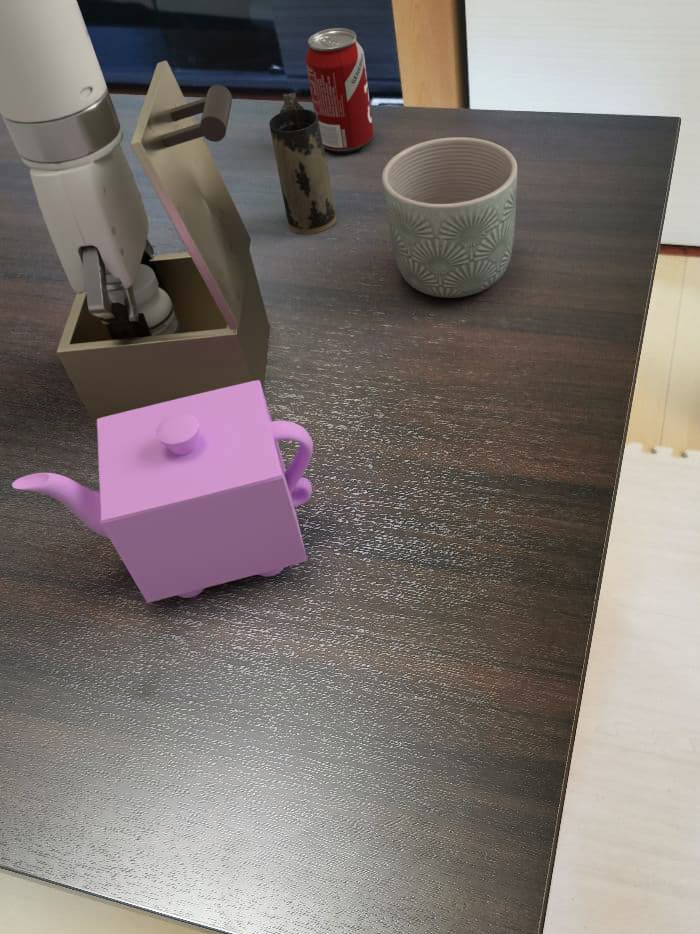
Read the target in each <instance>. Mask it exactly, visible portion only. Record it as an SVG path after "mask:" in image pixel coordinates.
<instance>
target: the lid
mask: <svg viewBox="0 0 700 934" xmlns="http://www.w3.org/2000/svg"><path fill="white" fill-rule="evenodd" d="M168 62H169V61H167V60H162V61H159V62H158V63H157V64H156V67H155V69H154V72H153V75H152V79H151V81H150V85H149V87H148V90H147V93H146V96H145V99H144V102H143V105H142V108H141V110H140V114H139V117H138V119H137V122H136V126H135V128H134V131H133V134H132V137H131V140H130V142H129V143H130V144H129V146H130V148H131V150H132V152H133V153H134V156H135V157H136V159H137V161H138V163H139V165H140V166H141V168H142V171H143V172H144V173H145V175H146V177H147V180H148V181H149V183H150V185H151V186H152V189H153V191H154V192H155V194H156V196H157V197H158V199H159V202H160V203H161V205H162V207H163V209H164V210H165V212H166V214H167V216H168V218H169V220H170V222H171V223H172V225H173V227H174V229H175V231H176V233H177V234H178V236H179V238H180V240H181V242H182V243H183V246H184V247H185V249H186V252H188V253H189V255H190V256H191V258H192V260H193V262H194V264H195V266H196V267H197V269H198V271H199V273H200V275H201V277H202V278H203V280H204V282H205V284H206V286H207V288H208V289H209V291H210V293H211V295H212V297H213V299H214V300H215V302H216V304H217V306H218V308H219V310H220V311H221V313H222V315H223V317H224V319H225V321H226V322H227V324H228V326H229V328H230V330H233V329H237V328H239V326H240V319H241V311H242V304H243V296H244V289H245V281H246V273H247V266H248V258H249V251H250V252H251V242H252V238H251V236H250V234H249V232H248V230H247V227H246V226H245V223H244V220H243V219H242V216H241V214H240V213H239V211H238V209H237V206H236V203H235V202H234V200H233V197H232V196H231V194H230V192H229V189H228V187H227V186H226V183H225V181H224V179H223V177H222V174H221V173H220V170H219V168H218V167H217V164H216V162H215V160H214V158H213V156H212V153H211V151H210V149H209V147H208V145H207V143H206V141H205V139H206V140H207V141H210V142H214V143H216V142H220V141H222V140H223V139H224V138H225V136H226V134H227V129H228V123H229V119H230V113H231V109H232V103H233V95H232V93H231V92H230V90H229V89H228V88H227V87H226V86H224V85H222V84H213V85H212V86H210V88H209V89H208V90H207V93H206V97H203V98H199V99H198V100H194V101H191V102H187V100H186V98H185V96H184V94H183V92H182V90H181V88H180V85H179V83H178V81H177V79H176V77H175V75H174V73H173V71H172V69H171V66H170V65H169V63H168ZM200 114H201V119H200V122H199V123H197V121H196V120H195V117H194V116H196V115H200Z"/></svg>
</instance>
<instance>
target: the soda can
mask: <svg viewBox="0 0 700 934" xmlns="http://www.w3.org/2000/svg"><path fill="white" fill-rule="evenodd" d="M307 44H308V49H307V52H306V55H305V66H306V72H307V78H308V82H309V83H308V84H309V89H310V94H311V101H312V106H313V112H315V113H316V114H317V116H318V121H319V127H320V132H321V137H322V142H323V148H324V149H326V150H328V151H332V152H334V153H339V154H347V153H352V152H356V151H359V150H360V149H362V148H364V147H365V146H366V145H368V144H369V143H370V142H371V141H372V140H373V139H374V127H373V126H374V125H373V119H372V111H371V103H370V92H369V86H368V84H369V83H368V77H367V68H366V60H365V52H364V48H363V47H362V46H361V45H360V43H359V42H358V41H357V34H356V32H355V31H353V30H352V29H349V28H345V27H344V28H342V27H336V28H328V29H323V30H320V31H317V32H315V33H313V34H312V35H311V36H309V38H308V40H307Z"/></svg>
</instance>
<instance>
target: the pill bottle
mask: <svg viewBox="0 0 700 934" xmlns="http://www.w3.org/2000/svg"><path fill="white" fill-rule="evenodd" d="M106 280H107V282H113V281H120V278H115V277H114V276H113V275H112V274H110V275H106ZM132 289H133V293H134V297H135V302H136V306H137V310H138V313H143V314H144V316H145V319H146V321H147V324H148V326H149V329H150V331H151V334H152V336H157V335H167V334H177V333H183V332H182V329H181V327H180V324H179V321H178V318H177V316H176V313H175V310H174V307H173V304H172V302H171V299H170V297H169V296H168V294H167V293H166V292H165V291H164V290H163V289H161V288H159V287H158V281H157V279H156V276H155V273H154V271H153V270H152V269H151V268H150V267H149V266H146V265H144V264H140V267H139V270H138V273H137V276H136V279H135V281H134V282H133V284H132ZM108 295H109V298H110V299H111V300H112V302H113V303H117V302H119V303H121V304H123V305H125V303H124V299H123V295H122V290H117V291H108Z"/></svg>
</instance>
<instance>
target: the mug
mask: <svg viewBox="0 0 700 934" xmlns="http://www.w3.org/2000/svg"><path fill="white" fill-rule="evenodd" d="M282 97H283V105H282V107H281V109H280V111H279V113H278V114H275V115H274V116H273V117H271V118H270V120H269V123H268V126H269V130H270V136H271V141H272V147H273V152H274V159H275V162H276V163H275V164H276V168H277V174H278V179H279V183H280V188H281V189H280V190H281V195H282V200H283V205H284V210H285V215H286V221H287V226H288V228H289V229H290V230H291V231H292V232H295V233H298V234H303V235H304V234H305V235H310V234H317V233H322V232H324V231H326V230H329V228H331V227H333V225H335V224H336V222H337V220H338V219H337V217H338V215H337V211H336V205H335V201H334V200H335V199H334V196H333V190H332V186H331V180H330V175H329V169H328V163H327V159H326V158H327V157H326V153H325V148H324V147H323V142H322V137H321V132H320V127H319V121H318V116H317V114H316V113H315V112H314V110H310V109H307V108H304V107H303V106H302V105H301V103H299V102H298V99H297V94H296V92H295V91H294V92H291V93H283V94H282Z"/></svg>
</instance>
